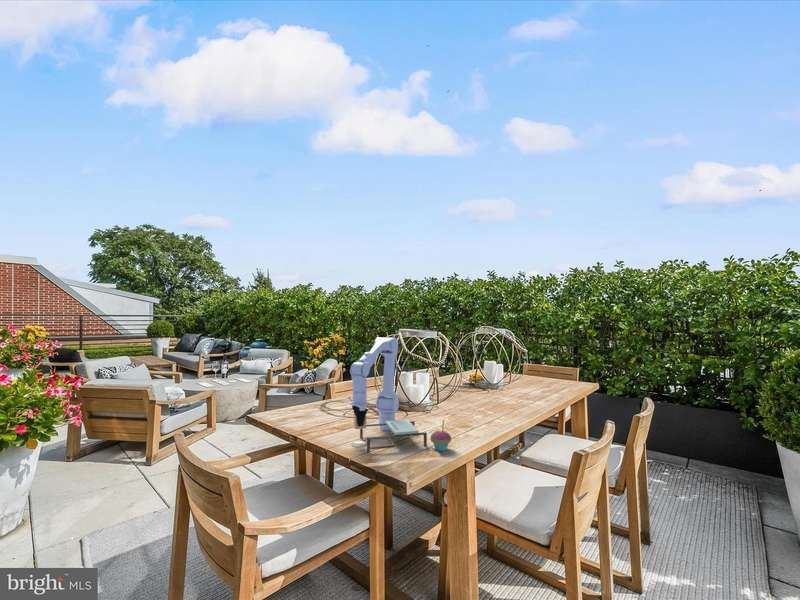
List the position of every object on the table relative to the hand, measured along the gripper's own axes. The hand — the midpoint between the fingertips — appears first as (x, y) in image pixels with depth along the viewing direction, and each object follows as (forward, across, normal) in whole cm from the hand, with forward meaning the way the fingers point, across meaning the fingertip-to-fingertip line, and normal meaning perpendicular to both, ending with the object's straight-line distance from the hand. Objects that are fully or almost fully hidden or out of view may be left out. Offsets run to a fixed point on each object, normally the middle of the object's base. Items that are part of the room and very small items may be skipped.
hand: (359, 424), depth 162 cm
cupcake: (+10, +11, +32) cm, 35 cm away
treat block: (+1, 0, 0) cm, 1 cm away
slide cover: (+3, 0, +18) cm, 18 cm away
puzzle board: (+9, 0, +11) cm, 15 cm away
